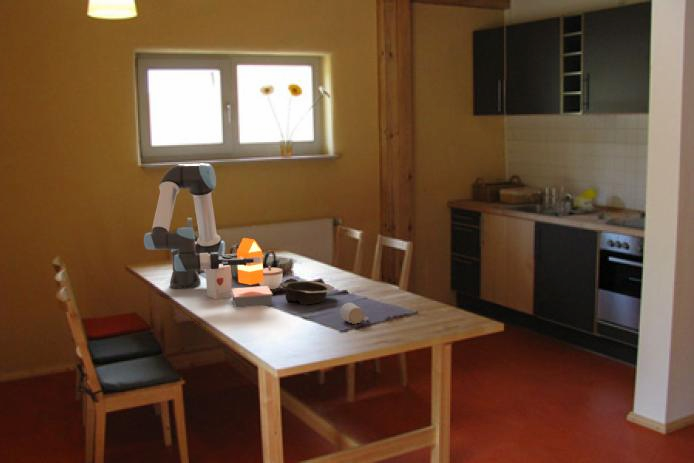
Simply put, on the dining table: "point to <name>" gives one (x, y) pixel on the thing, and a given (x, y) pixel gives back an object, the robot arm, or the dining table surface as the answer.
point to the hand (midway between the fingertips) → (259, 257)
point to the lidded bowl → (272, 277)
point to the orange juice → (254, 270)
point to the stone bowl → (305, 291)
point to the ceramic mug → (352, 313)
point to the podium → (252, 296)
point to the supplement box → (219, 282)
